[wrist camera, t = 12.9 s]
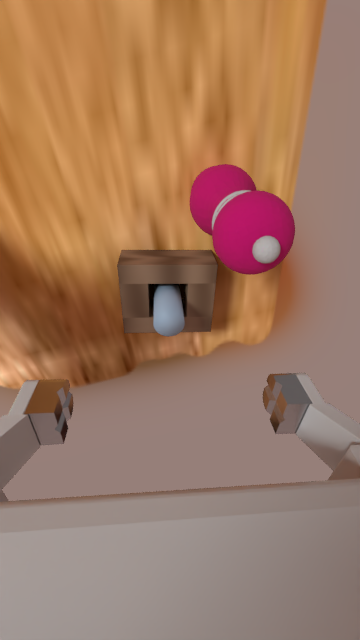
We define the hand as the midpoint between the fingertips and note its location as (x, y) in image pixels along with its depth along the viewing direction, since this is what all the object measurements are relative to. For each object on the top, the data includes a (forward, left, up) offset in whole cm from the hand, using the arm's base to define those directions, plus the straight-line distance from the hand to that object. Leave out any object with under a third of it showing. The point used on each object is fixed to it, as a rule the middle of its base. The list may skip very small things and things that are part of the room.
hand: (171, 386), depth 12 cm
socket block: (+1, -10, -29) cm, 30 cm away
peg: (+1, -10, -29) cm, 30 cm away
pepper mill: (+7, +2, -29) cm, 30 cm away
